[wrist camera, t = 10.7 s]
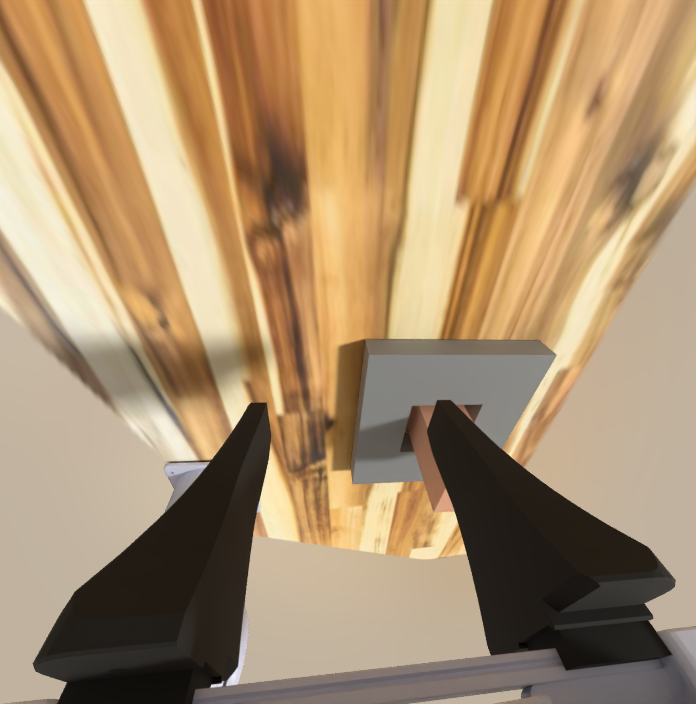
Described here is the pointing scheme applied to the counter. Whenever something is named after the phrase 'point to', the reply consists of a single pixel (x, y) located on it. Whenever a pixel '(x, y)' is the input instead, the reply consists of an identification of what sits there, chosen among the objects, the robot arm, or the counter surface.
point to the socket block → (438, 395)
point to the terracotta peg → (428, 456)
